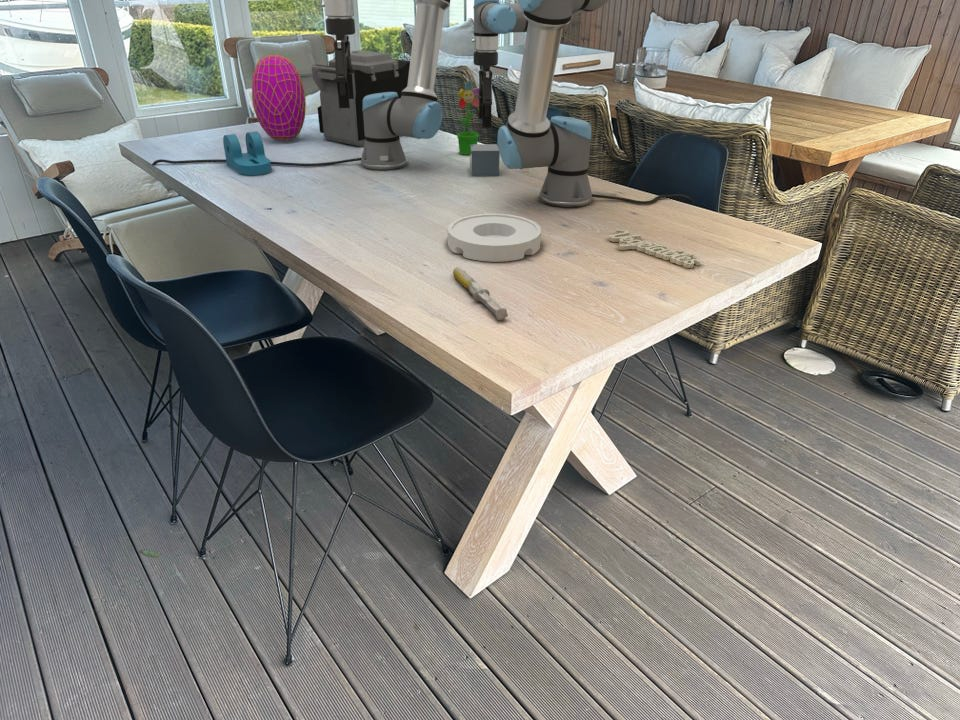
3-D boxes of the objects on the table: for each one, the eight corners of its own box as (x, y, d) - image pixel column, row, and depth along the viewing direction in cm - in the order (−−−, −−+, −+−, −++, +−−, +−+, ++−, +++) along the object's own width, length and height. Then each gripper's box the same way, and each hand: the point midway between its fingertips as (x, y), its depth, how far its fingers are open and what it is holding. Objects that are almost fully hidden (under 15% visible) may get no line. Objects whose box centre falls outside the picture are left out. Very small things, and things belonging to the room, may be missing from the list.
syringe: (449, 274, 155) (449, 263, 153) (465, 272, 156) (464, 260, 154) (490, 323, 135) (491, 310, 133) (508, 319, 136) (508, 307, 134)
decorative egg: (293, 132, 276) (283, 50, 261) (319, 140, 264) (310, 56, 249) (249, 139, 265) (236, 54, 250) (273, 148, 253) (261, 60, 238)
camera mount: (227, 164, 233) (221, 132, 227) (257, 160, 238) (252, 129, 233) (244, 176, 220) (239, 143, 215) (276, 172, 225) (271, 139, 220)
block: (496, 168, 233) (496, 144, 229) (498, 175, 225) (499, 150, 221) (469, 168, 232) (469, 144, 228) (471, 176, 225) (471, 150, 220)
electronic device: (380, 124, 291) (375, 47, 275) (420, 131, 280) (417, 51, 264) (314, 140, 265) (305, 55, 250) (356, 148, 254) (349, 60, 239)
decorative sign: (595, 237, 174) (620, 228, 179) (594, 240, 174) (619, 231, 180) (683, 268, 157) (708, 257, 162) (683, 272, 157) (707, 261, 163)
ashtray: (450, 227, 182) (450, 212, 180) (538, 229, 181) (539, 214, 179) (444, 260, 162) (444, 244, 160) (542, 262, 161) (543, 246, 159)
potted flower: (461, 156, 246) (461, 82, 233) (452, 151, 252) (451, 78, 239) (485, 153, 249) (486, 80, 237) (475, 148, 255) (475, 77, 243)
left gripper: (330, 13, 189) (337, 95, 200) (319, 21, 168) (327, 112, 178) (357, 14, 190) (363, 95, 200) (350, 21, 168) (357, 111, 179)
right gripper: (470, 46, 220) (470, 114, 231) (476, 56, 199) (475, 131, 210) (494, 46, 221) (492, 114, 232) (502, 56, 199) (500, 131, 210)
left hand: (346, 103), depth 189 cm, fingers open, 13 cm apart
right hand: (484, 122), depth 221 cm, fingers open, 13 cm apart
